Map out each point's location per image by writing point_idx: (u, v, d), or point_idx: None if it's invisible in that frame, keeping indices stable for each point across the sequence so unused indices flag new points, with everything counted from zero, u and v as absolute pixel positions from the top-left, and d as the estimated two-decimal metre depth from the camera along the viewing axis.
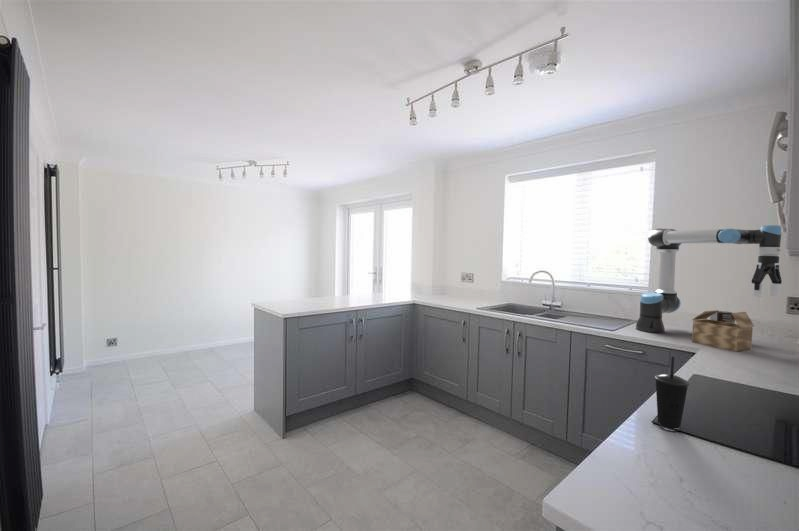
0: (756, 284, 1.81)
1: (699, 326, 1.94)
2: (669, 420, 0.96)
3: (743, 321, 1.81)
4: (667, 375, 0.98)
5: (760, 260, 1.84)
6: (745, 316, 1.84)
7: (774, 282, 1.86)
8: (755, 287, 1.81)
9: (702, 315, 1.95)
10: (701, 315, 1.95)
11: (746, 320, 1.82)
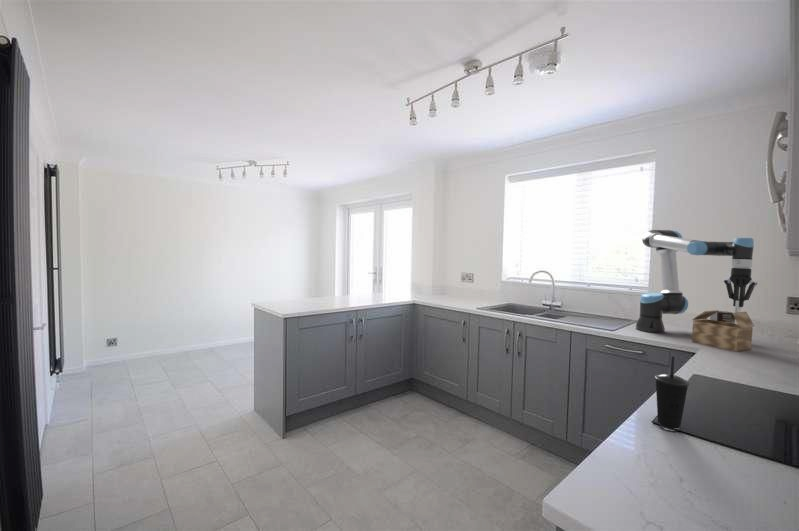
0: None
1: (699, 326, 1.94)
2: (669, 420, 0.96)
3: (743, 321, 1.81)
4: (667, 375, 0.98)
5: None
6: (745, 316, 1.84)
7: None
8: None
9: (702, 315, 1.95)
10: (701, 315, 1.95)
11: (746, 320, 1.82)
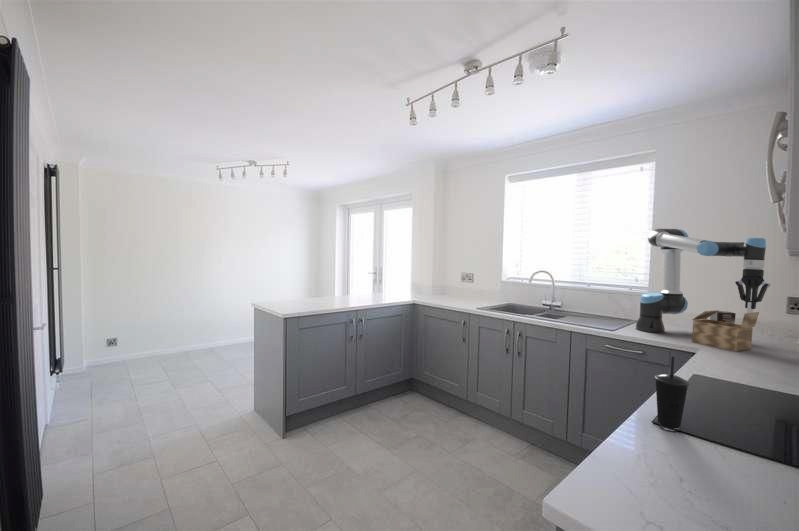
0: None
1: (699, 326, 1.94)
2: (669, 420, 0.96)
3: (749, 321, 1.79)
4: (667, 375, 0.98)
5: None
6: (754, 317, 1.80)
7: None
8: None
9: (702, 315, 1.95)
10: (701, 315, 1.95)
11: (752, 321, 1.80)
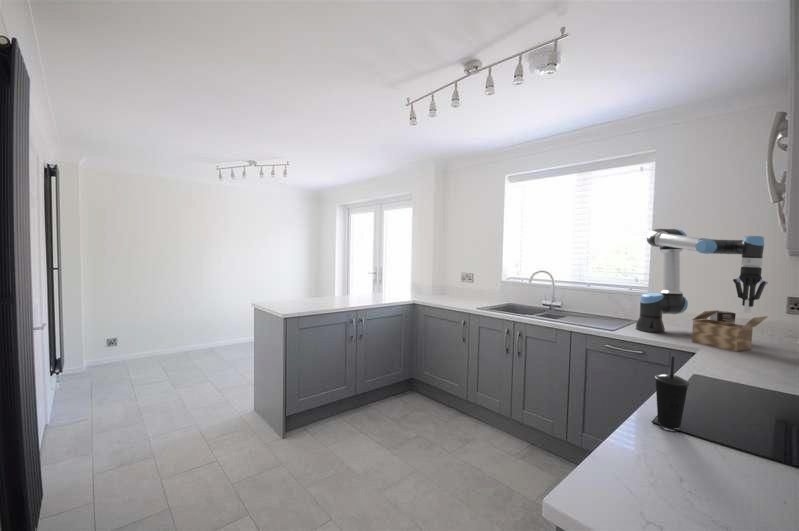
0: None
1: (699, 326, 1.94)
2: (669, 420, 0.96)
3: (752, 323, 1.78)
4: (667, 375, 0.98)
5: None
6: (760, 320, 1.78)
7: None
8: None
9: (702, 315, 1.95)
10: (701, 315, 1.95)
11: (756, 323, 1.79)
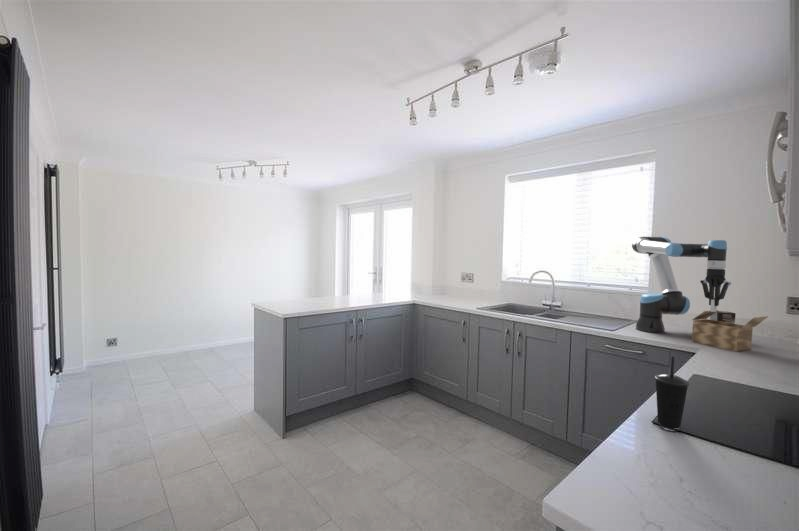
0: None
1: (699, 326, 1.94)
2: (669, 420, 0.96)
3: (752, 323, 1.78)
4: (667, 375, 0.98)
5: None
6: (760, 320, 1.78)
7: None
8: None
9: (702, 315, 1.95)
10: (701, 315, 1.95)
11: (756, 323, 1.79)
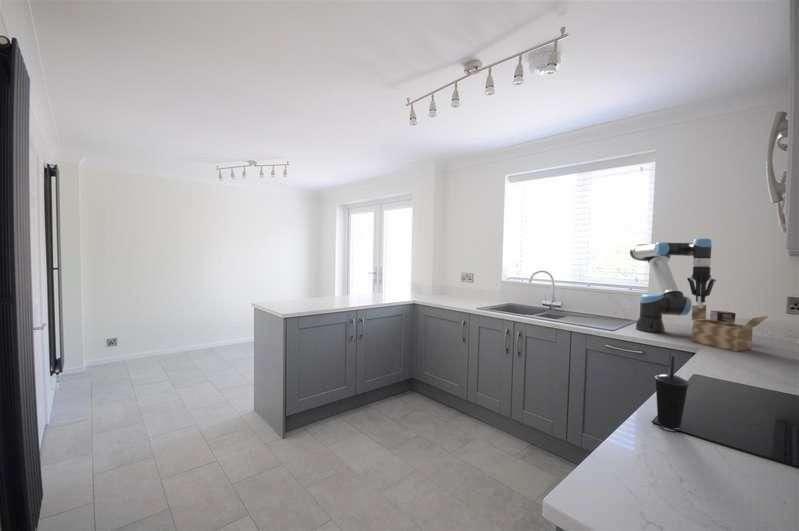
0: None
1: (699, 326, 1.94)
2: (669, 420, 0.96)
3: (752, 323, 1.78)
4: (667, 375, 0.98)
5: None
6: (760, 320, 1.78)
7: None
8: None
9: (695, 312, 1.98)
10: (694, 312, 1.98)
11: (756, 323, 1.79)
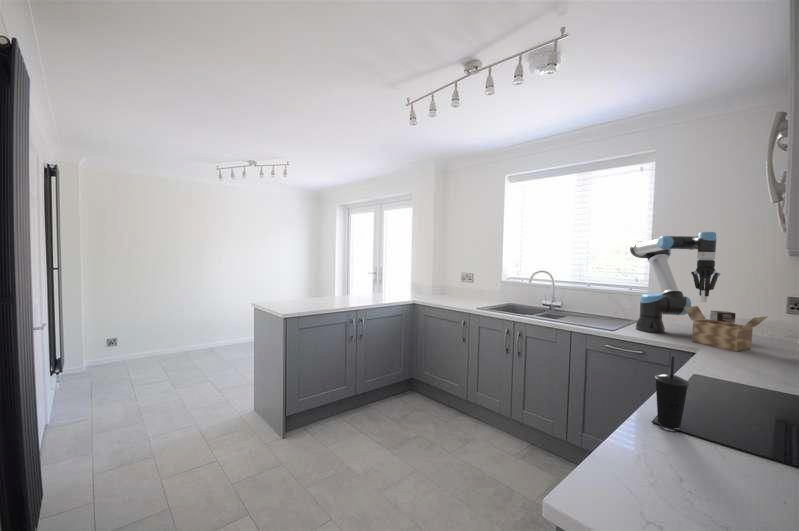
0: None
1: (699, 326, 1.94)
2: (669, 420, 0.96)
3: (752, 323, 1.78)
4: (667, 375, 0.98)
5: None
6: (760, 320, 1.78)
7: None
8: None
9: (691, 312, 2.00)
10: (689, 312, 2.00)
11: (756, 323, 1.79)
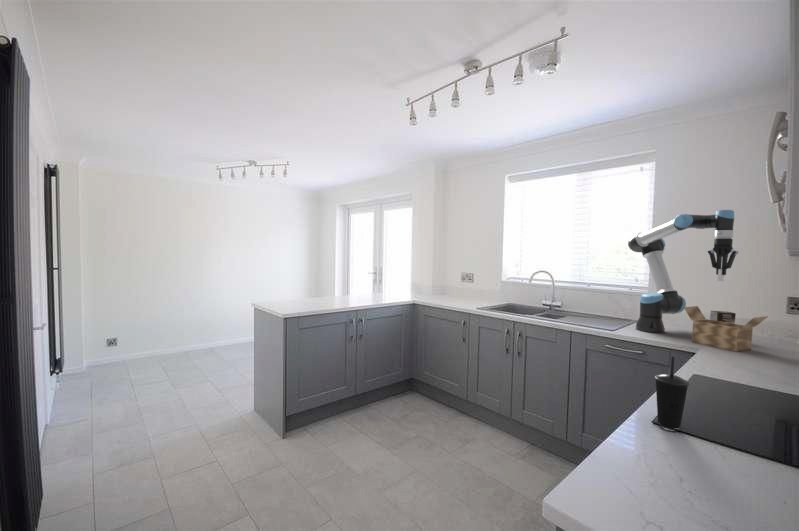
0: None
1: (699, 326, 1.94)
2: (669, 420, 0.96)
3: (752, 323, 1.78)
4: (667, 375, 0.98)
5: None
6: (760, 320, 1.78)
7: None
8: None
9: (691, 312, 2.00)
10: (689, 312, 2.00)
11: (756, 323, 1.79)
